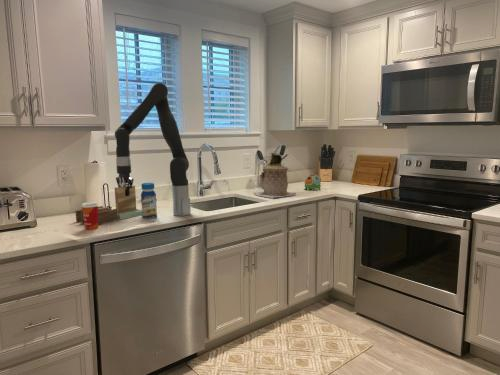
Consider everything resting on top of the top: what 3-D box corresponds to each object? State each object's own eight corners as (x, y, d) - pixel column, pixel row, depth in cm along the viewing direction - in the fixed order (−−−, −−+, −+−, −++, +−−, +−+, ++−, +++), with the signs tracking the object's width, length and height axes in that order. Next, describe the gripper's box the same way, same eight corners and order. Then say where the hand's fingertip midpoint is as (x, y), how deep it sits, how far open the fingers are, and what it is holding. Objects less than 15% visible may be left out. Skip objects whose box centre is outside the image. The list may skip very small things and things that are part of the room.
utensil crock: (298, 195, 276) (298, 152, 271) (271, 199, 262) (271, 153, 257) (277, 191, 296) (276, 150, 291) (251, 194, 282) (250, 152, 277)
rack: (118, 222, 200) (117, 209, 199) (91, 228, 188) (90, 214, 187) (102, 219, 209) (101, 206, 208) (76, 224, 197) (75, 210, 196)
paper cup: (81, 230, 184) (79, 203, 182) (98, 228, 189) (96, 201, 187) (85, 234, 178) (83, 205, 176) (102, 231, 182) (100, 203, 180)
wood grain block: (136, 210, 214) (135, 185, 212) (119, 213, 205) (117, 188, 203) (133, 209, 216) (131, 185, 214) (116, 212, 207) (114, 187, 205)
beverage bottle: (159, 217, 211) (158, 182, 208) (153, 220, 203) (151, 184, 200) (145, 217, 213) (143, 182, 210) (139, 220, 205) (136, 184, 202)
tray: (145, 216, 213) (144, 210, 213) (120, 222, 201) (120, 215, 200) (132, 214, 221) (132, 207, 220) (108, 219, 208) (107, 212, 208)
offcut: (107, 219, 201) (106, 207, 200) (90, 223, 193) (89, 211, 192) (105, 219, 202) (104, 207, 202) (87, 222, 195) (86, 210, 194)
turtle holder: (326, 188, 306) (327, 174, 305) (314, 191, 294) (314, 176, 292) (314, 187, 315) (314, 173, 313) (301, 190, 302) (301, 175, 300)
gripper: (137, 164, 205) (138, 195, 208) (122, 163, 214) (124, 193, 216) (125, 165, 199) (127, 197, 202) (110, 164, 208) (112, 195, 210)
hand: (125, 195), depth 209 cm, fingers closed on wood grain block, 3 cm apart
